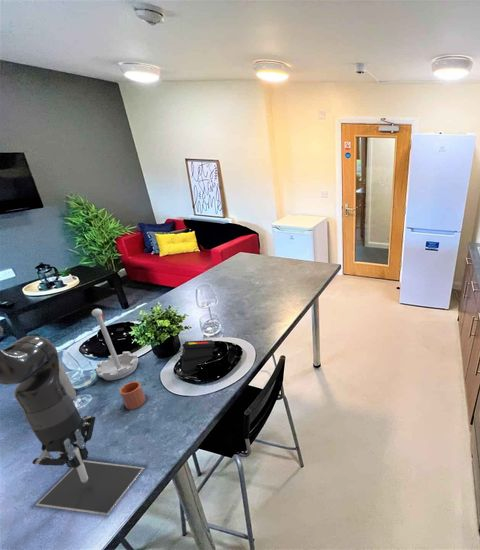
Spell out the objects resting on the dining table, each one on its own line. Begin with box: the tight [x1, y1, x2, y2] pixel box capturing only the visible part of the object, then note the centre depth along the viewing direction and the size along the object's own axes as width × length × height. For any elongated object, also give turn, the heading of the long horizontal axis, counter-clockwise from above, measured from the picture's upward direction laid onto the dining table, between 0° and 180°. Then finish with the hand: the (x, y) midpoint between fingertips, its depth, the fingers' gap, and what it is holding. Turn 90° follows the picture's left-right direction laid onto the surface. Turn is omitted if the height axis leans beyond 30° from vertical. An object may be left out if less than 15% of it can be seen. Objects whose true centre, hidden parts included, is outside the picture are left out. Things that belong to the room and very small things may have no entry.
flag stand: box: [91, 308, 139, 381], centre depth 113 cm, size 13×13×30 cm
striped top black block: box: [179, 339, 216, 378], centre depth 120 cm, size 4×13×15 cm, turn 140°
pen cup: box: [119, 381, 147, 410], centre depth 103 cm, size 6×6×8 cm
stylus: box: [72, 447, 88, 484], centre depth 76 cm, size 1×1×14 cm
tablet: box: [34, 459, 145, 516], centre depth 79 cm, size 12×20×1 cm, turn 85°
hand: (79, 462), depth 75 cm, fingers closed on stylus, 1 cm apart
